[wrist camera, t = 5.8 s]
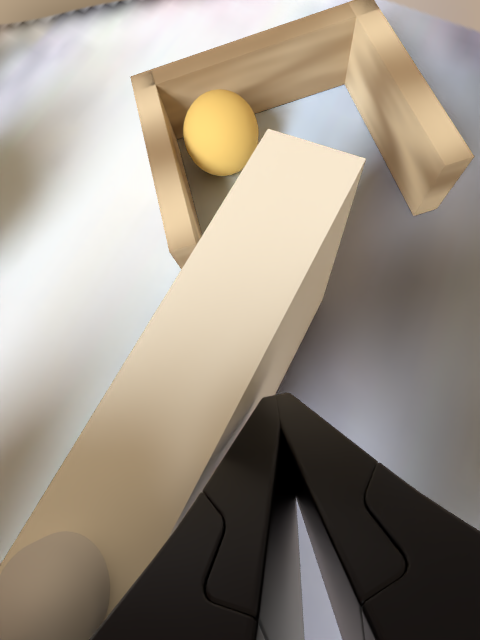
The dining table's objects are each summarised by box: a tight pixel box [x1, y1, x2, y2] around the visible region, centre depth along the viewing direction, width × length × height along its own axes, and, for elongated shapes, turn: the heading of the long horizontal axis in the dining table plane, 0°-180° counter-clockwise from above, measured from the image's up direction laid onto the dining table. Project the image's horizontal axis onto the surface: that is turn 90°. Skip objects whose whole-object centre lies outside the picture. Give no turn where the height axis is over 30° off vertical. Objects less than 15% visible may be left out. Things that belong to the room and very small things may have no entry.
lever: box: [0, 129, 366, 640], centre depth 10 cm, size 2×11×9 cm, turn 152°
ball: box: [183, 89, 258, 176], centre depth 17 cm, size 4×4×4 cm
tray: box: [131, 0, 474, 269], centre depth 17 cm, size 11×13×4 cm
